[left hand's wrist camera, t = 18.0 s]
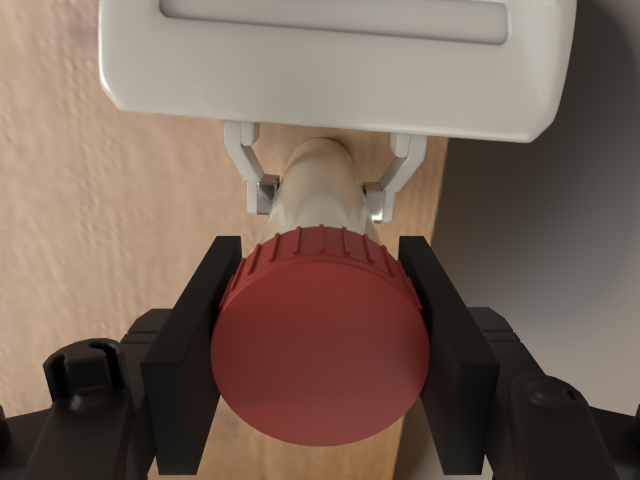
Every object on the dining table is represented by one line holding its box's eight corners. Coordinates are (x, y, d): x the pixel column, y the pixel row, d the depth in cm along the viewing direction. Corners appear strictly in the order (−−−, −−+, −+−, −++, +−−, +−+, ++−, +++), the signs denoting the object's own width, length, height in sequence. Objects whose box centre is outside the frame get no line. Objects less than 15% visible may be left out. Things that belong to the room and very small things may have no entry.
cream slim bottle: (367, 157, 28) (447, 315, 10) (334, 217, 30) (356, 445, 12) (304, 125, 28) (275, 235, 10) (274, 187, 29) (200, 383, 11)
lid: (446, 260, 12) (474, 302, 10) (371, 407, 14) (381, 471, 12) (257, 194, 11) (243, 225, 9) (204, 358, 13) (182, 416, 11)
